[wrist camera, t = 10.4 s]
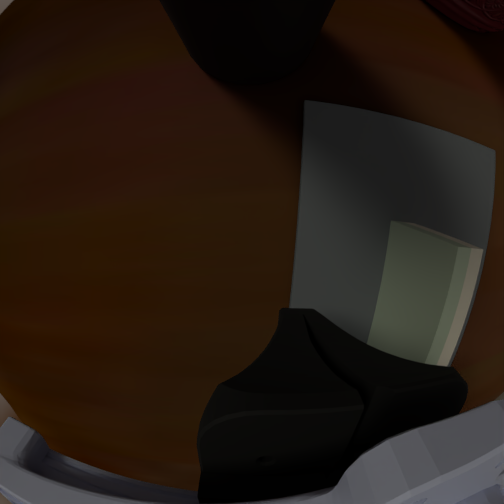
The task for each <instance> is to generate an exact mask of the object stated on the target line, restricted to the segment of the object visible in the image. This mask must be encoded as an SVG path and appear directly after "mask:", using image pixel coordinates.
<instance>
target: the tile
mask: <svg viewBox="0 0 504 504" xmlns="http://www.w3.org/2000/svg"><path fill="white" fill-rule="evenodd" d="M482 254H483V249H481V248H479V247H476V246H474V245H471V244H469V243H466V242H464V241H461V240H459V239H456V238H454V237H451V236H448V235H446V234H443V233H440V232H437V231H435V230H432V229H429V228H426V227H424V226H421V225H418V224H415V223H408V222H400V221H391V224H390V232H389V239H388V246H387V252H386V258H385V264H384V270H383V275H382V281H381V286H380V291H379V295H378V300H377V305H376V309H375V313H374V317H373V322H372V326H371V330H370V333H369V337H368V341H367V344H368V345H370V346H372V347H374V348H376V349H379V350H381V351H384V352H386V353H389V354H392V355H395V356H397V357H400V358H404V359H408V360H411V361H416V362H420V363H425V364H431V365H439V366H448V363H449V361H450V359H451V356H452V354H453V351H454V349H455V346H456V344H457V341H458V338H459V336H460V333H461V330H462V327H463V324H464V322H465V319H466V315H467V312H468V309H469V306H470V302H471V299H472V296H473V292H474V288H475V284H476V280H477V276H478V272H479V268H480V263H481V259H482Z"/></svg>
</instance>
